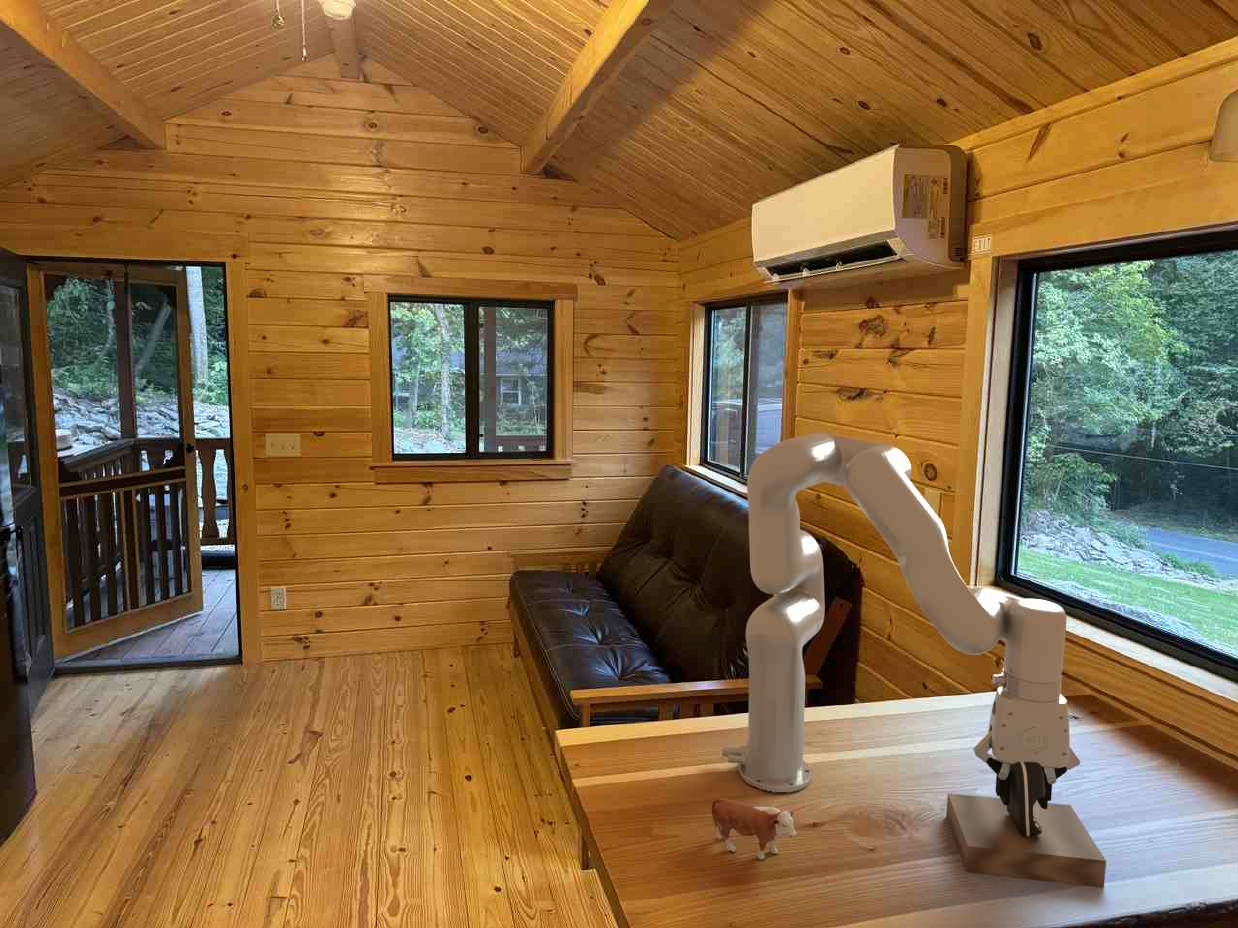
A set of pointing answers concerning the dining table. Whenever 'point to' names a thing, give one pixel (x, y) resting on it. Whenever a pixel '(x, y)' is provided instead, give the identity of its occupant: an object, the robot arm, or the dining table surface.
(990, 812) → the walnut base
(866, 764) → the dining table surface
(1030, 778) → the battery charger
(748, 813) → the bull figurine
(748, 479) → the robot arm
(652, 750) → the dining table surface
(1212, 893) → the dining table surface
